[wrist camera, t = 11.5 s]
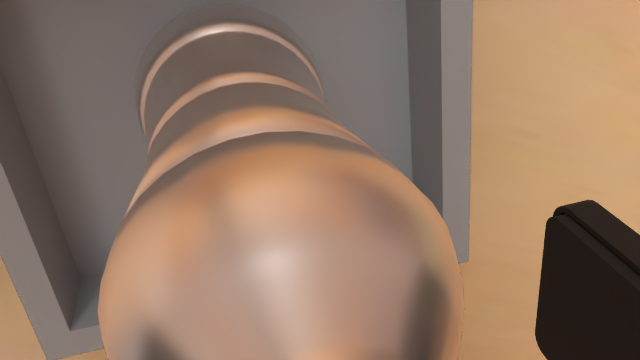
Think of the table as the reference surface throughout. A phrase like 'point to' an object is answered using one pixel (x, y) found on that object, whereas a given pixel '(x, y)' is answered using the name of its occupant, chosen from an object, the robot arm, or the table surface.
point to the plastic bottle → (268, 215)
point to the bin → (131, 146)
